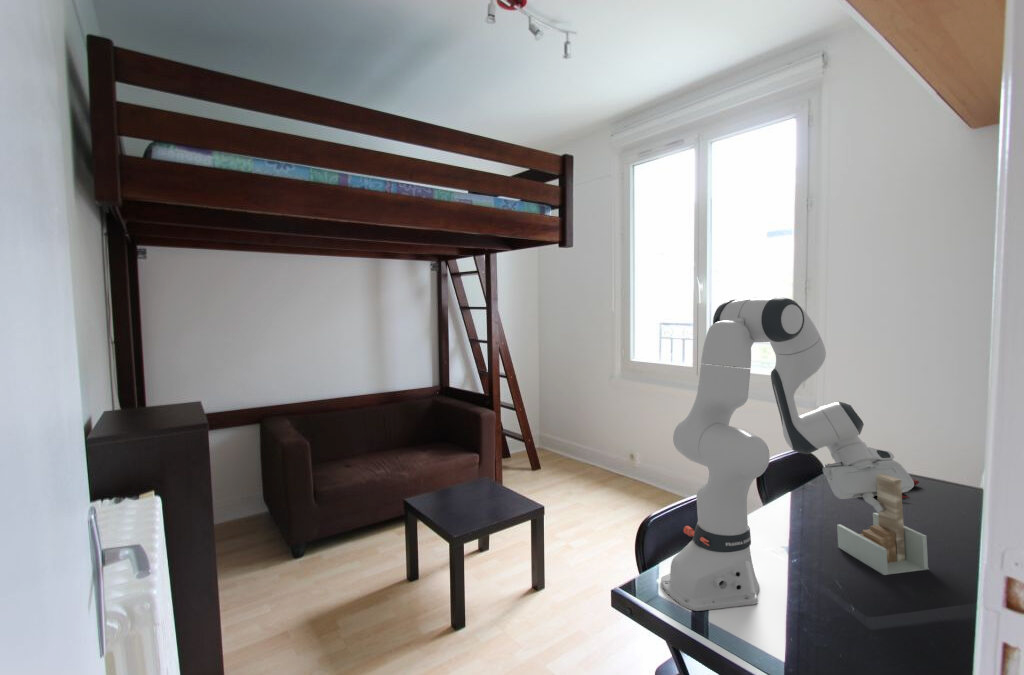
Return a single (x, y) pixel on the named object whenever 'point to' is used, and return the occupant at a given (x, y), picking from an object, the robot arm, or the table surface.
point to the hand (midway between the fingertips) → (888, 510)
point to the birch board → (892, 510)
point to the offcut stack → (882, 540)
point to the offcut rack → (885, 550)
